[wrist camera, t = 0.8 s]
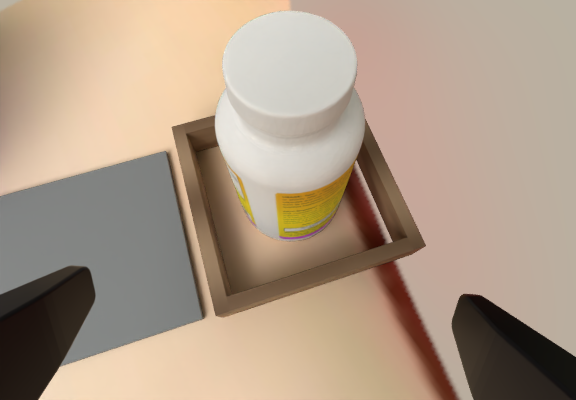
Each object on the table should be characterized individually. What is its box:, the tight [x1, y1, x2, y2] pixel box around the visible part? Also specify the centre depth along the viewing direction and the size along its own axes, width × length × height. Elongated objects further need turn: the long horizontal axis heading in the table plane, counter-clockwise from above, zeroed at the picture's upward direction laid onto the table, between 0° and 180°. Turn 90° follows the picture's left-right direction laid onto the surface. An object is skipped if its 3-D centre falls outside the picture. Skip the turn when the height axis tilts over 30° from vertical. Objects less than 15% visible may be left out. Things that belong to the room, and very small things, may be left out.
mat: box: [0, 151, 204, 366], centre depth 22 cm, size 12×12×1 cm
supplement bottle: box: [215, 11, 365, 241], centre depth 17 cm, size 7×7×13 cm
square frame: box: [172, 116, 426, 317], centre depth 22 cm, size 13×13×2 cm
